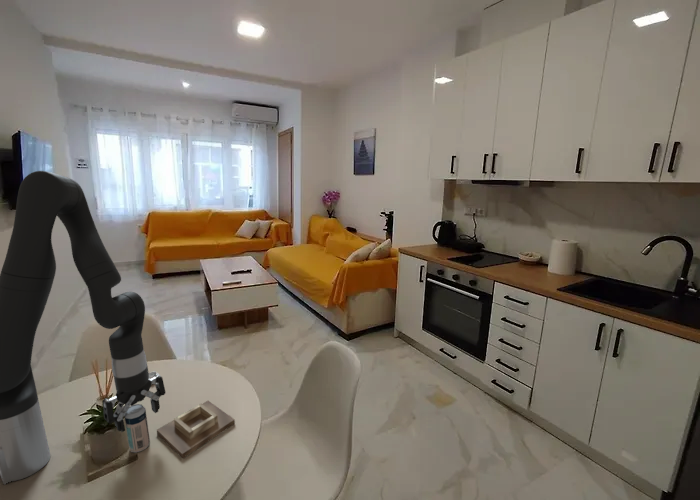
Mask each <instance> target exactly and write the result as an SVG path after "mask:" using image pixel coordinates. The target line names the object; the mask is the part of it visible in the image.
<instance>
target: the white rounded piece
mask: <svg viewBox="0 0 700 500" xmlns="http://www.w3.org/2000/svg"><path fill="white" fill-rule="evenodd" d="M148 373H149V379H151V378H153V377H154V375H155V374H158V375H160V373H158V372H157V371H156V370H153V371H150V372H148ZM152 385H154V384H153V383H152Z"/></svg>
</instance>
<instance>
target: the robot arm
mask: <svg viewBox="0 0 700 500" xmlns="http://www.w3.org/2000/svg"><path fill="white" fill-rule="evenodd" d="M16 198H17V199H16V205H15V206H16V207H15V214H14V222H13V227H12V232H11V235H10V239H9V242H8V247H7V252H6V254H5V255H6V256H5V259H4V260H3V261H4V262H3V265H2V268H1V270H0V479H1V480H2V484H3V485H7V484H8V482H9V483H11V481H12V482H15V481H20V480H23V479H25V478H28V477H30V476H32V475H34V474H36V473H38V472H39V471H40V470H42V468H44V467H45V466H46V465H47V464H48V462H49V461H50V459H51V452H50V451H51V450H50V447H49V443H48V438H47V433H46V428H45V425H44V419H43V415H42V410H41V409H42V408H41V405H40V401H39V396H38V391H37V386H36V381H35V378H34V374H33V369H32V368H33V367H32V365H31V364H32V355H33V348H34V341H35V338H36V332H37V329H38V327H39V324H40V322H41V320H42V319H41V318H42V317H43V314H44V311H45V309H46V305H47V303H48V299H49V296H50V294H51V292H52V287H53V284H54V280H55V276H56V271H57V262H56V261H57V260H56V257H55V253H54V249H53V244H52V234H53V229H54V225H55V222H56V219H57V217H58V219H59V220H60V222H61V223H62V225H63V226H64V228H65V230H66V231H67V234H68V237H69V240H70V245H71V246H70V247H71V255H72V259H73V262H74V265H75V267H76V269H77V271H78V273H79V275H80V276H81V278H82V280H83V282H84V284H85V285H86V287H87V290H88V294H89V299H90V304H91V309H92V315H93V317H94V320H95V321H96V323H97V324H98V325H99V326H101V328H104V329H107V330H112V329H113V330H114V329H116V328H117V329H116V330H115V331H114V332H112V333H111V334H110V336H109V338H108V346H109V351H110V357H111V372H112V376H113V379H114V380H113V382H114V385H115V390H116V393H115V396H113V397H110V398H107V397H106V398H103V399H102V407H103V408H102V409H103V410H102V411H103V418H104V420H105V421H106V422H107V423H108V424H113V423H114V426H116V427H117V429H116V430H117V431H118V432H121V433H123V432H125V431H126V425H125V420H124V417H125V416H124V415H125V413H126V412H127V411H128V409H129V407H131V406H133V405H136V404H138V403H140V402H142V401H144V400H145V398H146V397H147V398H148V399H150V405H151V411H152V412H153V413H154V414H157V413H158V412H159V410H160V407H161V405H160V397H162V396H165V395H166V388H165V383H164V379H163V376H161V375H160V374H159V373H158V374H159V375H158V374H155V375H154V377H153V378H151V379H149V373H150V372H149V368H148V367H149V366H148V361H147V356H146V353H145V348H144V343H143V337H142V333H143V329H144V320H145V316H146V306H145V301H144V300H143V298H142V296H141V295H140V294H138V293H136V292H134V291H126V292H123V293H121V294H118V295H115V296H113V297H112V289H113V288H115V286H118V284H120V282H122V277H121V273H120V272H119V271H118V269H117V267H116V265H115V263H114V261H113V259H112V258H111V256H110V254H109V252H108V250H107V249H106V247H105V245H104V243H103V241H102V238H101V235H100V234H99V231H98V229H97V227H96V224H95V221H94V219H93V216H92V213H91V210H90V208H89V204H88V200H87V198H86V195H85V193H84V190H83V188H82V187H81V185H80V184H79V183H78V182H77V181H76V180H74V179H73V178H71V177H69V176H68V177H67V176H65V175H63V174H62V175H61V174H58V173H54V172H51V171H47V170H46V171H45V170H37V171H35V170H34V171H33V172H31V173H28V174H27V175H26V176H25V177H23V179H22V181H21V182H20V185H19V189H18V192H17V196H16ZM152 383H153V384H152ZM152 385H155V388H156V389H155V390H156V391H155V392H153V391H151V390H150V389H151V387H152ZM116 402H117V404H116ZM115 404H116V405H115ZM115 406H116V408H115V411H114V407H115ZM116 427H115V428H116ZM6 483H7V484H6Z"/></svg>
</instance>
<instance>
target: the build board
mask: <svg viewBox="0 0 700 500" xmlns="http://www.w3.org/2000/svg"><path fill="white" fill-rule="evenodd" d="M235 423H236V420H235V419H234V418H233V417H232V416H230V415H229V414H228V413H227V412H225V411H223V410H222V409H221V408H219V407H218V406H217V405H215V404H214V403H212V402H211V401H209V400H206V401H204V402H202V403H199V404H197V405H196V406H194V407H191V408H190V409H188V410H187V411H185V412H184V413H182V414H180V415H179V416H176V417H175V418H173V420H171V421H170V422H167V423H166V424H165V425H162V426H161V427H159V428H157V429H156V434H157V436H159V438H161V439H162V440H163V441H164V442H165V443H166V444H167V445H168V446H169V447H170V448H171V449H172V450H173V451H174V452H175V453H176V454H177V455H178V456H179V457H180V458H182V459H185V458H186V457H189V455H191V454H192V453H194V452H195V451H196V450H198V449H199V448H201V447H202V446H204V445H206V444H207V443H209V441H211V440H213V439H214V438H216V437H217V436H219V435H220V434H222V433H223V432H225V431H227V429H229V428H231V427H232V426H233V425H235Z"/></svg>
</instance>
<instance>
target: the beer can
mask: <svg viewBox="0 0 700 500" xmlns="http://www.w3.org/2000/svg"><path fill="white" fill-rule="evenodd" d="M123 417H124V424H125V431H126V435H127V436H126V437H127V442H128V443H127V444H128V449H129V448H130V449H129V451H130V450H131V451H130V452H131V453H139V452H142V451H144V450H146V449H147V448H148V447H149V445H150V443H151V439H150V432H149V425H148V417H147V409H146V407H145V406H144V405H143V404H141V403H136V404H134V405H133V406H131V405H130V407H129V409H128V411H127V412H125V414H124V416H123Z"/></svg>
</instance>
